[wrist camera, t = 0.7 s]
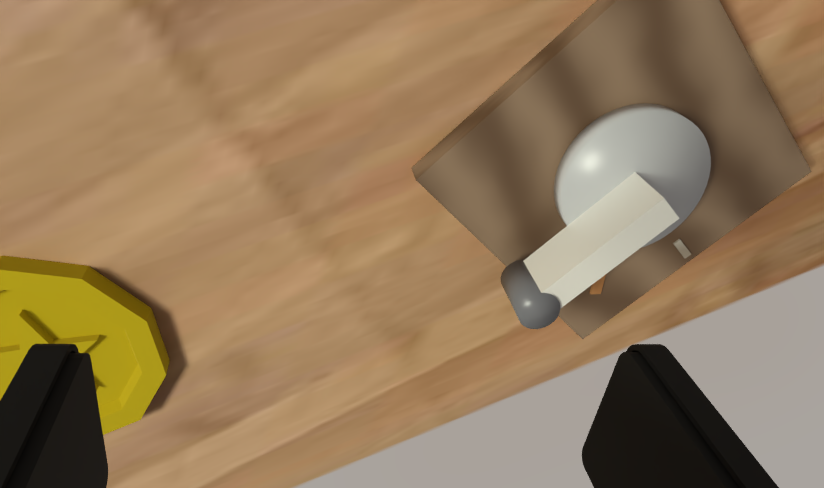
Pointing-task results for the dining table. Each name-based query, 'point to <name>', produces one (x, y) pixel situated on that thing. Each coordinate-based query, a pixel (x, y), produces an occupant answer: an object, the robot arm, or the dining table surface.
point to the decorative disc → (83, 331)
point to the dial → (611, 204)
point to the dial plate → (592, 98)
